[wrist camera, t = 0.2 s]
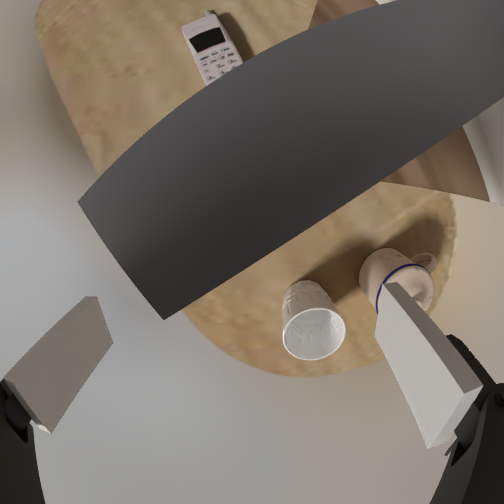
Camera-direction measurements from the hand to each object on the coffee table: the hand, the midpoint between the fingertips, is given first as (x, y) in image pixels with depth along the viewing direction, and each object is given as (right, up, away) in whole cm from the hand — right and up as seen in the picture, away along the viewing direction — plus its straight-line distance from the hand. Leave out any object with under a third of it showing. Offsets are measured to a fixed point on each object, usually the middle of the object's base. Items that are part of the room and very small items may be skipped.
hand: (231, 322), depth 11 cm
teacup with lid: (+23, 0, +28) cm, 36 cm away
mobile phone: (-3, +28, +21) cm, 35 cm away
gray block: (+7, +9, -6) cm, 13 cm away
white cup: (+9, -4, +30) cm, 32 cm away
